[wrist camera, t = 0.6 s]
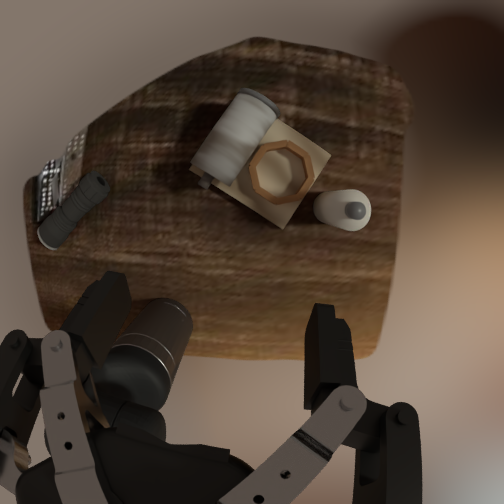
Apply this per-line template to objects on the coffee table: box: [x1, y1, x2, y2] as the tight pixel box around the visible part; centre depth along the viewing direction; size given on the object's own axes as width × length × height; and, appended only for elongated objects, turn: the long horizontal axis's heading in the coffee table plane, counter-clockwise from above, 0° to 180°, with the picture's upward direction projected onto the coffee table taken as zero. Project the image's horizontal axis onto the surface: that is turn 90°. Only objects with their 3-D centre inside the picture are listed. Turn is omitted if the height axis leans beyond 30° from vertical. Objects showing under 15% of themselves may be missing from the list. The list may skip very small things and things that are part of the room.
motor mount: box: [189, 88, 331, 229], centre depth 40 cm, size 15×17×8 cm
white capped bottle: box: [313, 189, 371, 231], centre depth 39 cm, size 5×5×13 cm
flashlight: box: [37, 171, 110, 250], centre depth 42 cm, size 15×5×5 cm, turn 127°
